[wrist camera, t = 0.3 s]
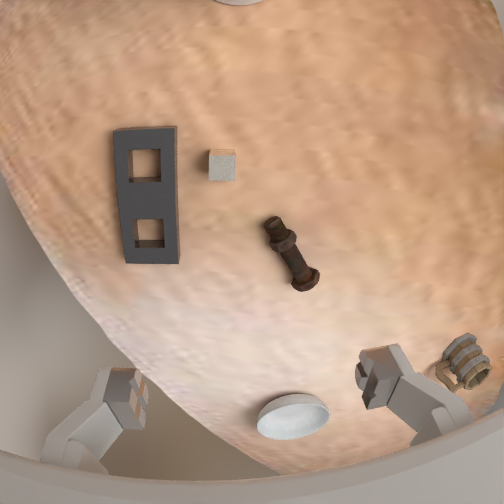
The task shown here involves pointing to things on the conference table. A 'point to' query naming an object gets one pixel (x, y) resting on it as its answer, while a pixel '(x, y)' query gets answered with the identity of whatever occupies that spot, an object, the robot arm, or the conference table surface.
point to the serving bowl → (292, 417)
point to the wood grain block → (222, 165)
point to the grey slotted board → (148, 194)
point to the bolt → (291, 254)
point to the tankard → (464, 364)
